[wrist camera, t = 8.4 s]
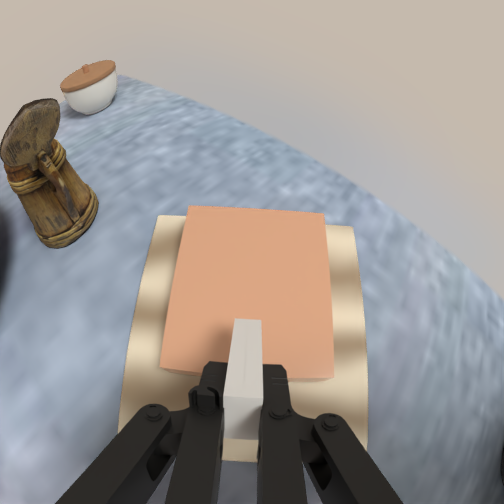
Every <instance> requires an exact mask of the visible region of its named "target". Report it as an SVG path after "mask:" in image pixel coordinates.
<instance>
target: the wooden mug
mask: <svg viewBox="0 0 504 504" xmlns="http://www.w3.org/2000/svg"><path fill="white" fill-rule="evenodd" d="M59 122H60V107H59V104H58V102H57V100H55V99H51V98H50V99H40V100H35V101H32V102H30V103H28V104H25V105H23V106H22V108H21V109H20V110H19V112H18V113H17V115H16V116H15V118H14V119H13V121H12V122H11V124H10V125H9V127H8V128H7V130H6V132H5V134H4V136H3V139H2V142H1V145H0V157H1V159H2V161H3V162H4V168H5V171H6V173H7V180H8V182H9V184H10V186H11V188H12V190H13V191H14V192H15V193H16V194H17V195H18V197H19V199H20V201H21V203H22V205H23V207H24V209H25V210H26V212H27V214H28V216H29V218H30V220H31V222H32V223H33V225H34V229H35V232H36V234H37V236H38V237H39V239H40V240H41V242H42V243H43V244H45V245H46V246H48V247H51V248H60V247H65V246H67V245H69V244H70V243H72V242H74V241H75V240H76V239H77V238H79V237H80V236H81V235H82V234H83V233H84V232H85V231H86V230H87V229H88V228H89V226H90V225H91V223H92V222H93V220H94V218H95V215H96V213H97V209H98V203H99V202H98V199H97V197H96V194H95V193H94V192H93V190H92V189H91V188H90V187H89V186H88V185H87V184H85V183H84V182H83V181H82V180H81V178H80V177H79V176H78V174H77V173H76V172H75V170H74V169H73V168H72V166H71V165H70V163H69V162H68V161H67V159H66V151H65V149H64V148H63V147H62V146H61V144H60V143H59V142H58V140H56V139H54V137H55V135H56V133H57V130H58V127H59Z"/></svg>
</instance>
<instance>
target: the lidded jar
mask: <svg viewBox="0 0 504 504" xmlns="http://www.w3.org/2000/svg"><path fill="white" fill-rule="evenodd" d="M115 67H116V66H115V62H114V61H111V60H105V61H99V62H96V63H92V64H90V65H87V64H85V65H83V66H82V68H81V69H79V70H77V71H75V72H74V73H72V74H70V75H69V76H68V77H67V78H65V79H64V80H63V82H62V83H61V85H60V88H61V90H62V92H63V94H64V97H65V99H66V101H67V103H68V104H69V105H70V107H71V108H72V109H74V110H75V111H77V112H80V113H83V114H84V115H91V114H95V113H97V112H100V111H102V110H103V109H105V108H106V107H108V106H109V105H110V104H111V102H112V99H113V97H114V95H115V93H116V90H117V73H116V69H115Z"/></svg>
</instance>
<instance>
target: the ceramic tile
mask: <svg viewBox="0 0 504 504" xmlns="http://www.w3.org/2000/svg"><path fill="white" fill-rule="evenodd" d="M235 318H237V319H254V320H261V329H262V364H281V365H282V366H283V367H284V368H285V370H286V371H287V379H288V382H323V381H326V380H329V379H332V378H334V342H333V317H332V298H331V283H330V270H329V258H328V247H327V237H326V228H325V219H324V214H322V213H310V212H297V211H284V210H269V209H253V208H235V207H214V206H189V207H188V212H187V216H186V220H185V225H184V229H183V234H182V238H181V243H180V248H179V253H178V258H177V263H176V268H175V273H174V278H173V283H172V289H171V294H170V300H169V306H168V312H167V318H166V324H165V331H164V337H163V344H162V351H161V358H160V366H159V367H160V368H162V369H164V370H166V371H168V372H170V373H177V374H184V375H192V376H201V375H202V371H203V368H204V366H205V365H206V364H207V363H208V362H209V361H215V362H227V363H228V361H229V354H230V347H231V341H232V334H233V328H234V321H235Z"/></svg>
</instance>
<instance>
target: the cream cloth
mask: <svg viewBox="0 0 504 504" xmlns="http://www.w3.org/2000/svg"><path fill="white" fill-rule="evenodd" d="M185 220H186V216H168V215H158V219H157V222H156V226H155V229H154V233H153V237H152V240H151V244H150V248H149V252H148V255H147V259H146V263H145V267H144V272H143V276H142V280H141V284H140V289H139V293H138V298H137V303H136V307H135V312H134V317H133V323H132V328H131V333H130V339H129V345H128V351H127V357H126V364H125V370H124V378H123V385H122V393H121V402H120V412H119V423H118V433H119V432H120V431H121V430H122V429H123V427H124V426H125V425H126V424H127V423H128V422H129V421H130V420H131V418H132V417H133V416H134V415H135V414H136V413H137V412H138V410H139V409H140V408H142V407H143V406H145V405H148V404H160V405H163V406H165V407H166V408H167V409H168V410H169V411H178V410H184V409H186V408H188V407H189V397H188V392H189V391H190V389H192V388H193V387H195V386H198V385H199V383H200V379H201V376H192V375H184V374H177V373H170V372H168V371H166V370H164V369H162V368H160V367H159V366H160V358H161V351H162V344H163V337H164V331H165V324H166V318H167V312H168V306H169V300H170V294H171V289H172V283H173V278H174V273H175V268H176V263H177V258H178V253H179V248H180V243H181V238H182V234H183V229H184V225H185ZM325 228H326V237H327V247H328V258H329V270H330V283H331V298H332V317H333V342H334V378H332V379H329V380H326V381H323V382H288V385H289V392H290V399H291V406H292V408H293V409H294V411H295V412H296V413H298V414H299V415H301V416H304V417H308V418H312V419H316V418H317V417H318V416H319V415H321V414H324V413H333V414H337V415H339V416H341V417H342V418H343V419H344V420H345V421H346V422H347V424H348V425H349V427H350V428H351V429H352V431H353V432H354V434H355V435H356V437H357V438H358V440H359V441H360V443H361V444H362V445H363V447H364V448H365V450H366V451H367V437H368V370H367V348H366V333H365V320H364V309H363V299H362V289H361V281H360V273H359V265H358V258H357V251H356V245H355V238H354V232H353V227H349V226H337V225H325ZM257 450H258V440H244V439H228V438H223V455H222V460H227V461H241V462H257V459H256V458H257Z"/></svg>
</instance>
